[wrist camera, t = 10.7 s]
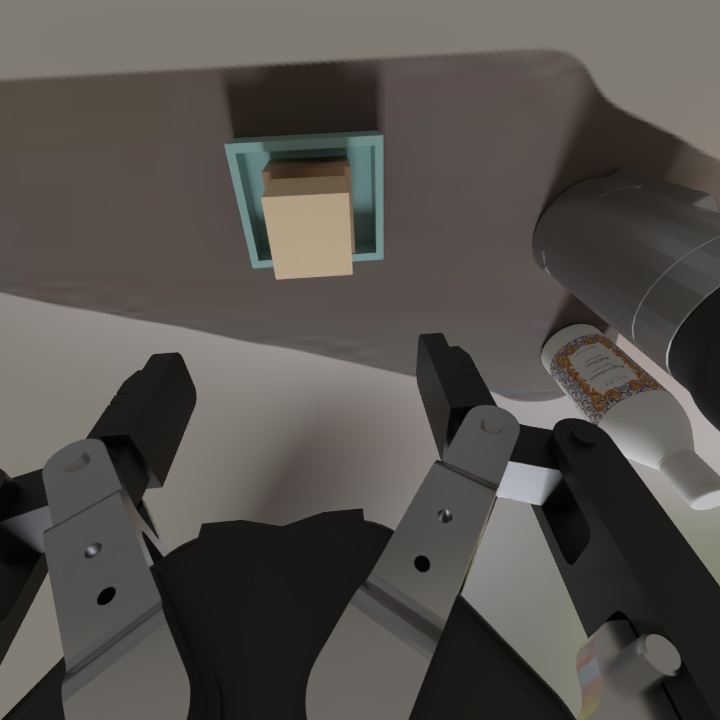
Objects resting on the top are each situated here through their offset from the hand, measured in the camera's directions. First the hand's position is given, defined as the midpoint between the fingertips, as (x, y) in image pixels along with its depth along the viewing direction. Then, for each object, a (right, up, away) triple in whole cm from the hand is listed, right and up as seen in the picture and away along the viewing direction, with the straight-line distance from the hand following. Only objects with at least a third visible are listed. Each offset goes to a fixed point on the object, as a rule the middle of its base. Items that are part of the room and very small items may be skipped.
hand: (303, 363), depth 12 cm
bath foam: (+27, +2, +31) cm, 41 cm away
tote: (-2, +14, +18) cm, 23 cm away
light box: (-2, +11, +14) cm, 17 cm away
